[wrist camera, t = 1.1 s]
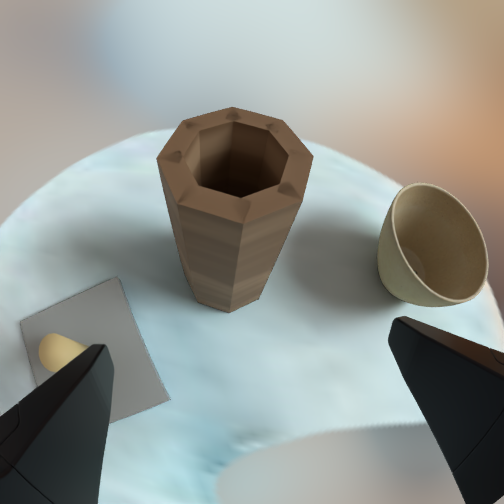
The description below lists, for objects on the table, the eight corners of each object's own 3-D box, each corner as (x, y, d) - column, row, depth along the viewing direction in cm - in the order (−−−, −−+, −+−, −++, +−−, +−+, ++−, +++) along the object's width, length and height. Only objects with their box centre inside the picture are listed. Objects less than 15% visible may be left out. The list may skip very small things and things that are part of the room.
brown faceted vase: (278, 289, 23) (337, 187, 12) (208, 323, 22) (196, 243, 10) (242, 227, 25) (264, 99, 14) (176, 255, 24) (145, 132, 12)
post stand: (170, 399, 19) (155, 404, 14) (63, 438, 16) (27, 446, 11) (119, 280, 22) (97, 251, 17) (24, 324, 19) (-12, 306, 14)
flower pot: (396, 209, 28) (432, 167, 22) (453, 285, 25) (501, 256, 19) (330, 257, 25) (365, 212, 19) (398, 349, 22) (453, 331, 16)
